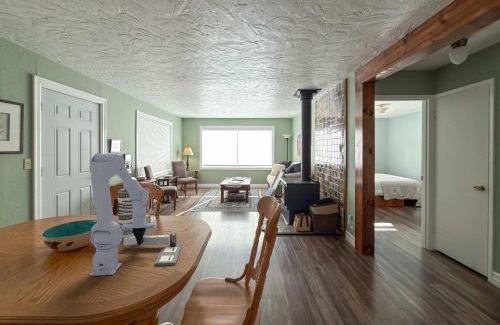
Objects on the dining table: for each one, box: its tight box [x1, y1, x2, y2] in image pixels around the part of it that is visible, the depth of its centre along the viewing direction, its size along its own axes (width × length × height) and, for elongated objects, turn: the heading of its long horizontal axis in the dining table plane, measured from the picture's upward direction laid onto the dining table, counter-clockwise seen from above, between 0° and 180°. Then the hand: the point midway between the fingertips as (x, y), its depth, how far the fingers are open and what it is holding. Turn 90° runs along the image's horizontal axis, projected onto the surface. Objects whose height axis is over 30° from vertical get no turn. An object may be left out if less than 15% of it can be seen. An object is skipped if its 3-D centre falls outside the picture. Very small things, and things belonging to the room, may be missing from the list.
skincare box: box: [144, 214, 152, 236], centre depth 137 cm, size 6×4×12 cm
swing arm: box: [123, 234, 170, 246], centre depth 124 cm, size 20×3×3 cm, turn 96°
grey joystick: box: [166, 233, 180, 247], centre depth 125 cm, size 5×5×6 cm
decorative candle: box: [115, 188, 134, 238], centre depth 143 cm, size 9×9×25 cm
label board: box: [153, 246, 182, 267], centre depth 114 cm, size 18×8×1 cm, turn 8°
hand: (139, 244), depth 121 cm, fingers closed, pressing on swing arm
